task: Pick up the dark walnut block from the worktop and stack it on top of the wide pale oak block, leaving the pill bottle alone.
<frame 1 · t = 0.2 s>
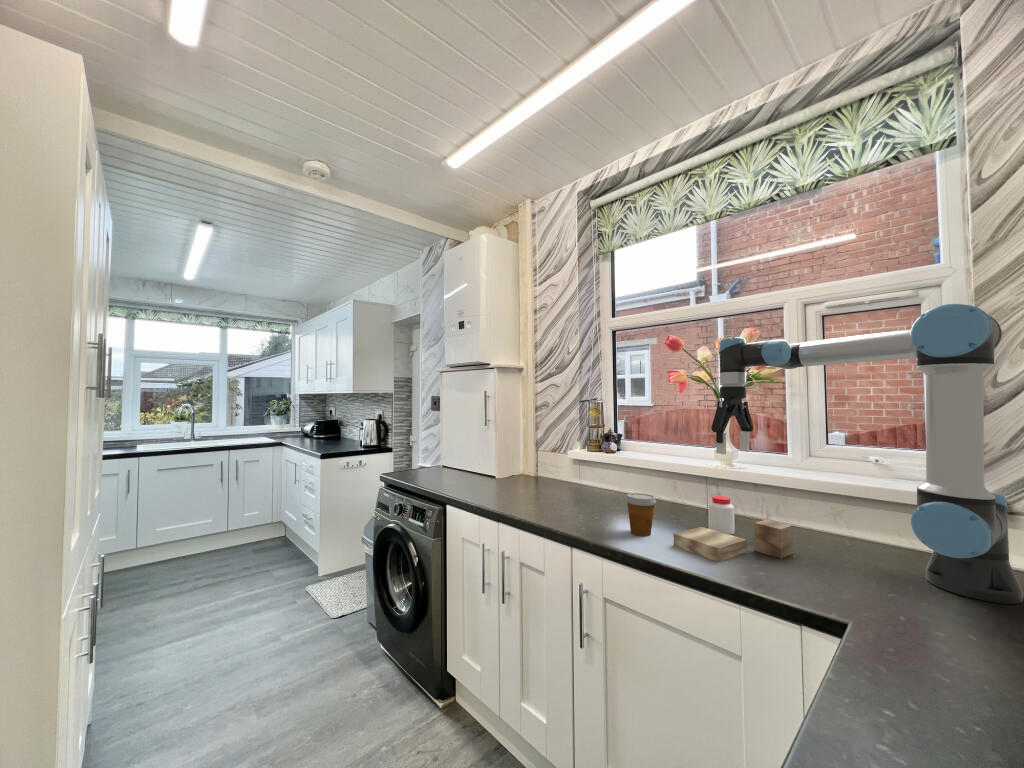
hand: (733, 452, 130), 27 cm above the countertop, fingers open, 13 cm apart
walnut block: (773, 552, 117), on the countertop
oak block: (709, 550, 119), on the countertop
pill bottle: (721, 531, 137), on the countertop
disposable coffee cup: (640, 533, 133), on the countertop
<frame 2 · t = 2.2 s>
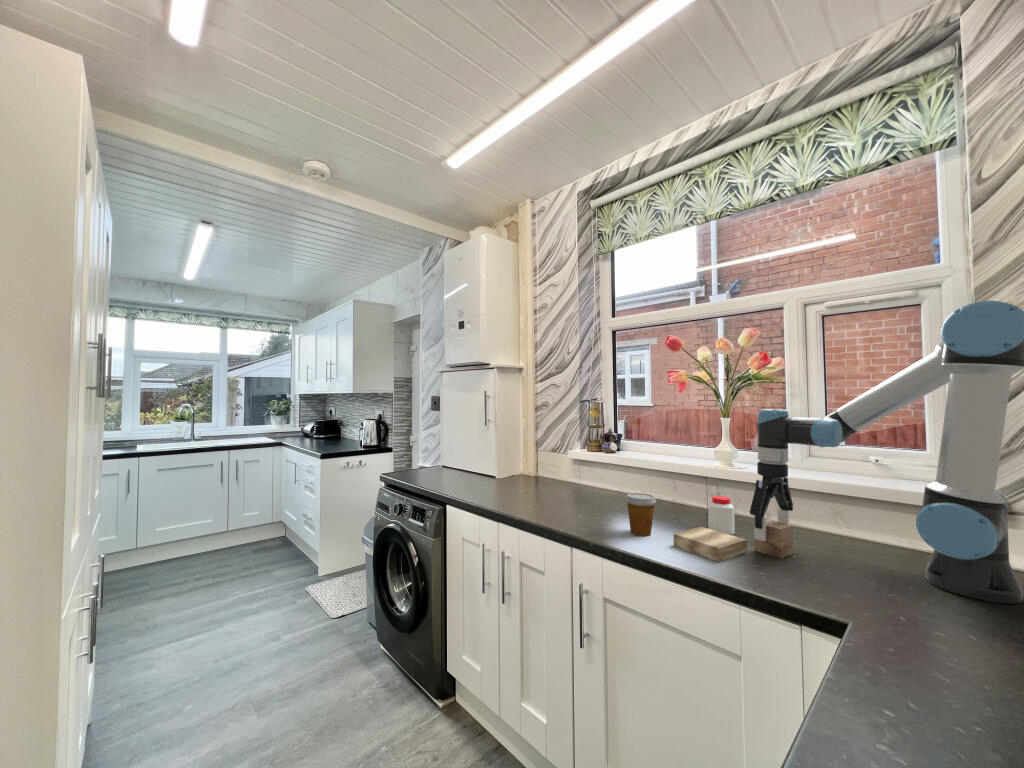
hand: (771, 535, 118), 4 cm above the countertop, fingers open, 13 cm apart
nothing on the countertop moved.
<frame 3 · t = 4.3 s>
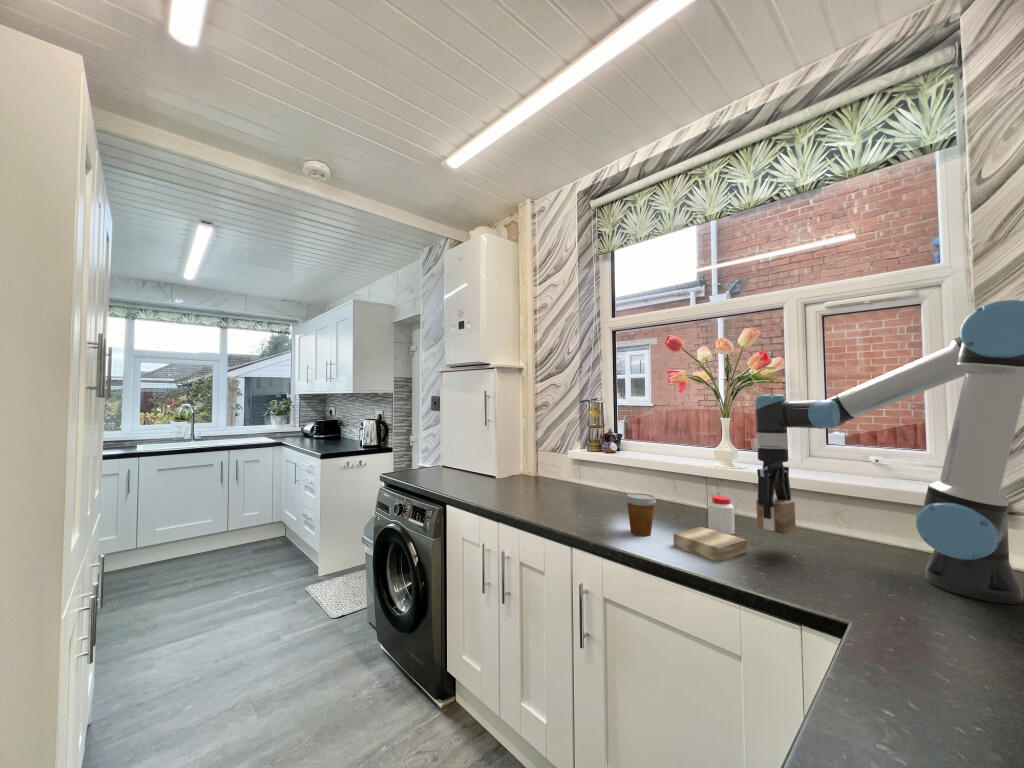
hand: (776, 527, 117), 7 cm above the countertop, fingers closed on walnut block, 7 cm apart
walnut block: (776, 529, 117), point 7 cm above the countertop, touching gripper
everything else where it was.
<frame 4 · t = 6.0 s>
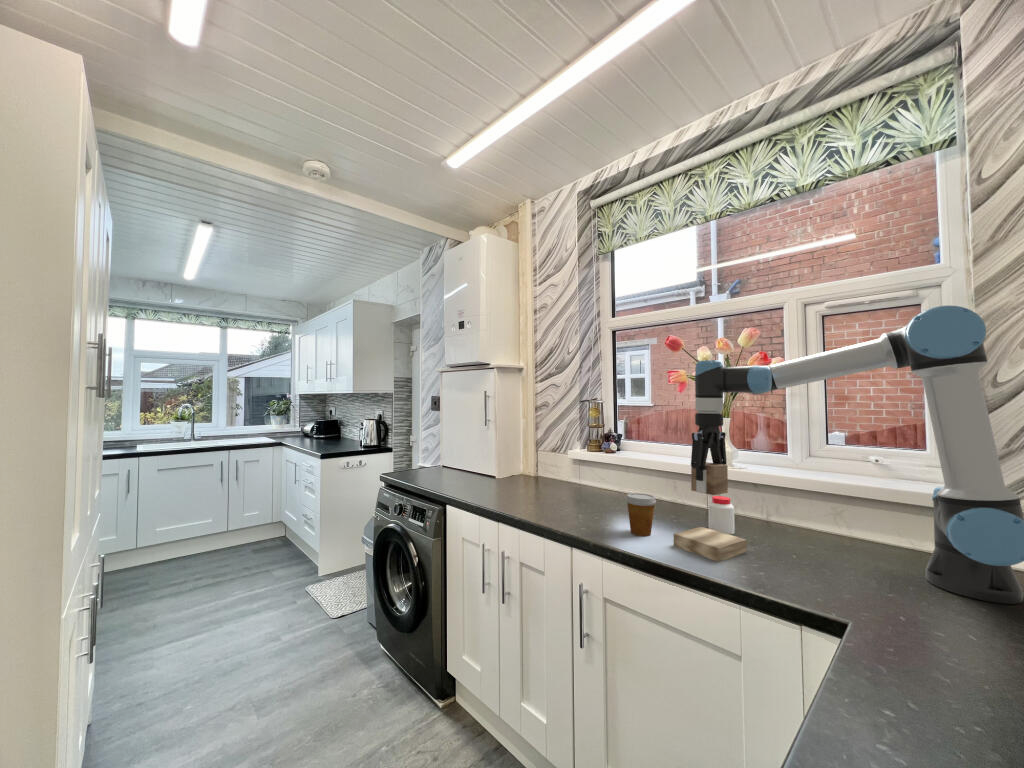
hand: (709, 490, 120), 17 cm above the countertop, fingers closed on walnut block, 7 cm apart
walnut block: (709, 491, 120), point 17 cm above the countertop, touching gripper
everything else where it was.
when the fingers open (4 cm above the countertop, at t = 8.0 s): walnut block stays where it is, resting on oak block.
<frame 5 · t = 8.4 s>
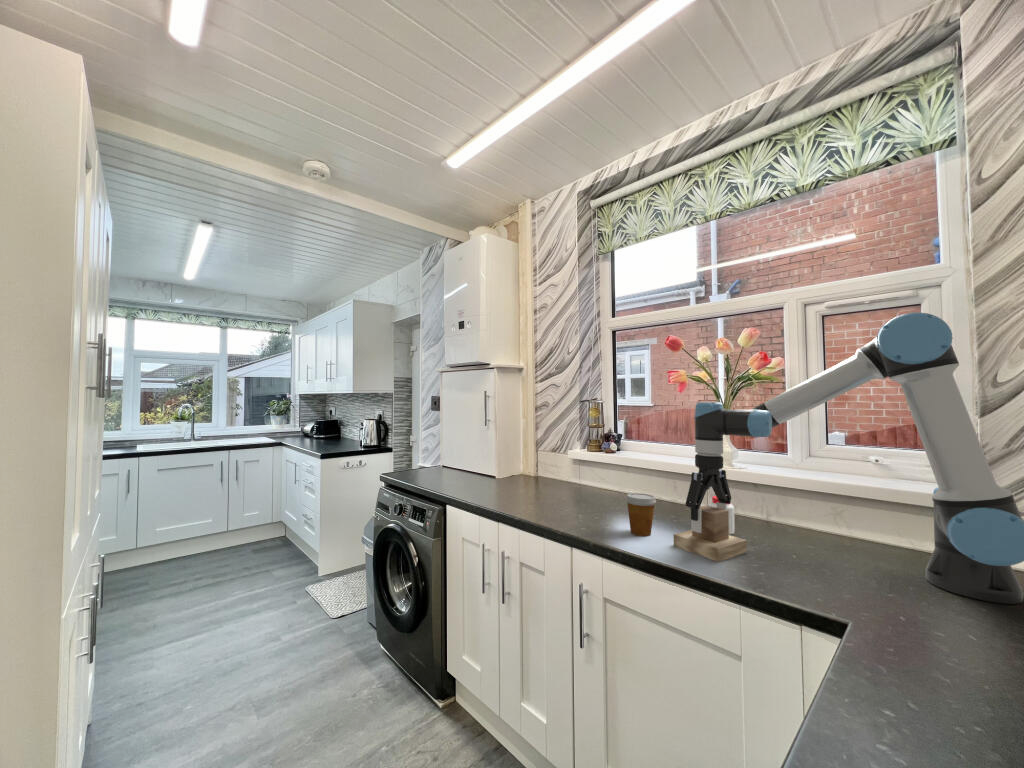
hand: (709, 528, 119), 6 cm above the countertop, fingers open, 12 cm apart
walnut block: (710, 537, 119), point 3 cm above the countertop, touching oak block
oak block: (709, 551, 119), on the countertop, touching walnut block
everything else where it was.
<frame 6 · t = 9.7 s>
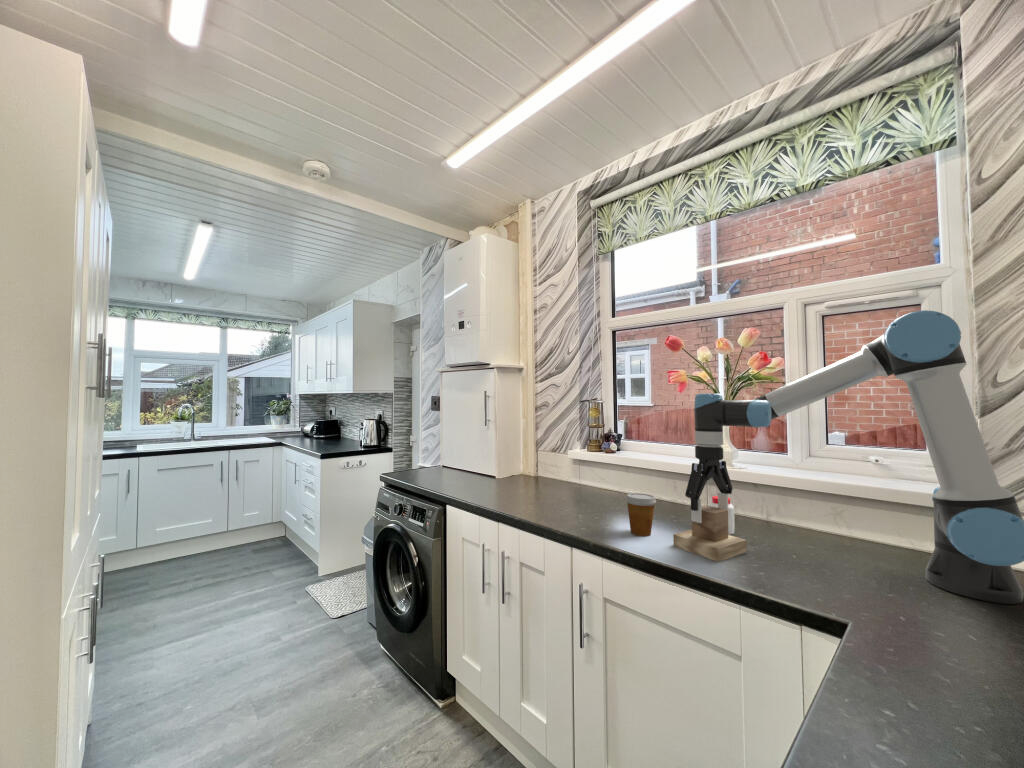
hand: (710, 518, 119), 9 cm above the countertop, fingers open, 13 cm apart
nothing on the countertop moved.
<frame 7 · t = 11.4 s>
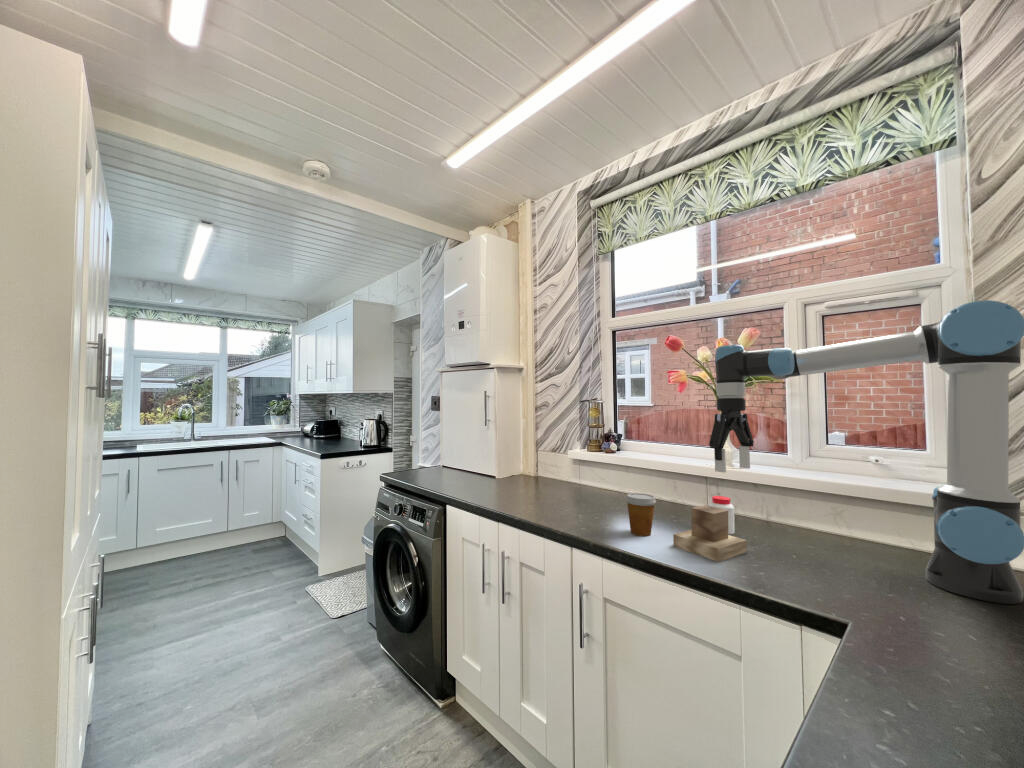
hand: (733, 470, 119), 23 cm above the countertop, fingers open, 13 cm apart
nothing on the countertop moved.
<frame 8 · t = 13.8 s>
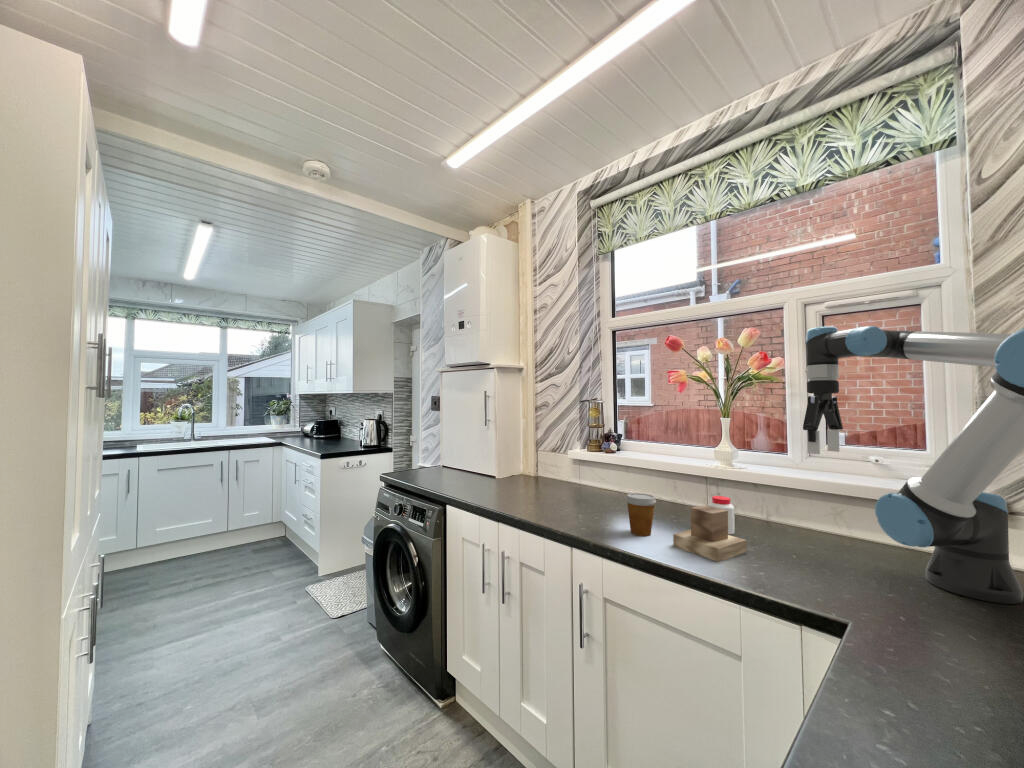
hand: (823, 452, 119), 29 cm above the countertop, fingers open, 13 cm apart
walnut block: (709, 536, 119), point 3 cm above the countertop
oak block: (709, 550, 119), on the countertop
everything else where it was.
at the end: walnut block 0.3 cm from the oak block (horizontally); walnut block point 3.4 cm above the countertop; walnut block tilted 1° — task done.
